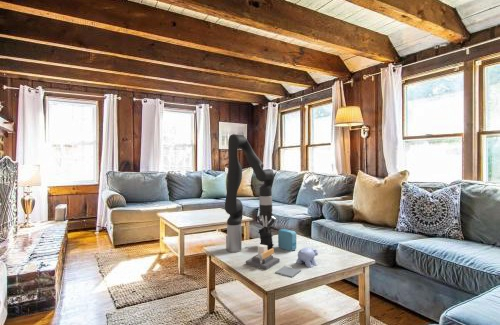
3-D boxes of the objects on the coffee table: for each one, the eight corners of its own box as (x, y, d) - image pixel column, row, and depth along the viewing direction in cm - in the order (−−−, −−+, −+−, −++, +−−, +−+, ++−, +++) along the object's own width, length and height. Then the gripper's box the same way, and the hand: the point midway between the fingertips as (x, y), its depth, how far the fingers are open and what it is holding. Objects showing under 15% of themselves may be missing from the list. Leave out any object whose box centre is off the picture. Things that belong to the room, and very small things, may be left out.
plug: (255, 260, 165) (255, 246, 165) (261, 257, 170) (261, 243, 170) (264, 262, 162) (264, 248, 162) (269, 259, 167) (269, 245, 167)
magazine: (271, 249, 185) (265, 226, 190) (261, 252, 196) (256, 230, 201) (276, 248, 187) (270, 225, 192) (266, 252, 197) (261, 230, 203)
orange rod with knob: (258, 260, 159) (258, 254, 159) (272, 253, 171) (272, 247, 170) (261, 260, 158) (261, 255, 158) (274, 253, 170) (274, 248, 170)
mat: (275, 273, 152) (275, 271, 152) (284, 267, 160) (284, 265, 160) (292, 277, 146) (292, 276, 146) (301, 271, 154) (301, 269, 154)
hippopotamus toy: (323, 262, 167) (323, 246, 166) (307, 269, 157) (307, 251, 157) (308, 257, 175) (308, 241, 174) (292, 263, 165) (292, 247, 165)
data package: (296, 249, 189) (296, 231, 189) (292, 251, 186) (292, 232, 186) (282, 245, 198) (282, 228, 197) (278, 247, 195) (277, 229, 194)
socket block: (245, 264, 165) (245, 257, 164) (259, 257, 176) (259, 250, 176) (266, 269, 156) (266, 262, 156) (279, 262, 168) (279, 255, 168)
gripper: (252, 203, 171) (253, 232, 171) (272, 205, 163) (272, 236, 163) (259, 201, 177) (260, 230, 177) (278, 203, 169) (279, 233, 169)
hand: (266, 232), depth 170 cm, fingers closed
